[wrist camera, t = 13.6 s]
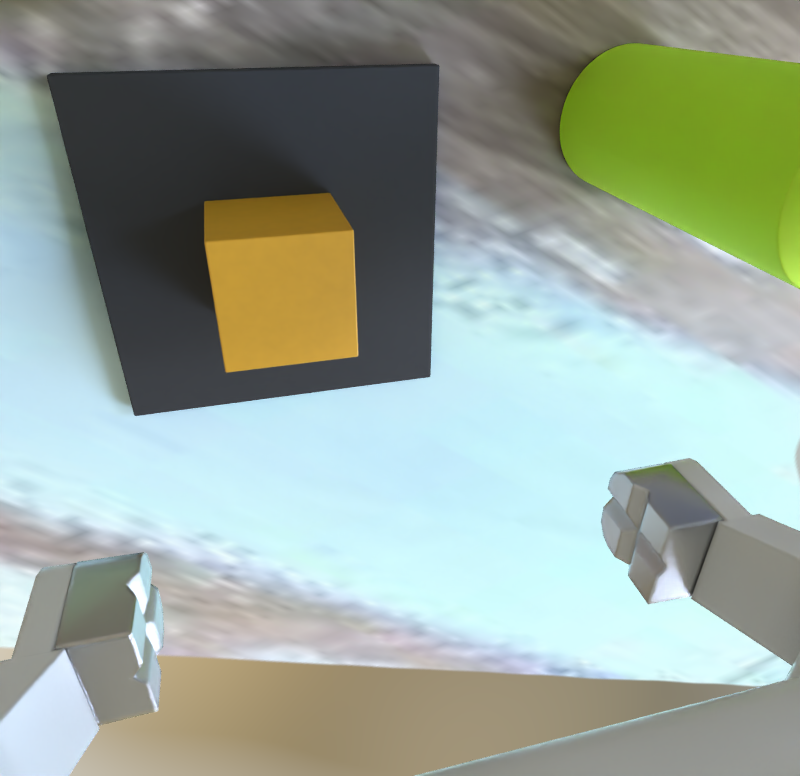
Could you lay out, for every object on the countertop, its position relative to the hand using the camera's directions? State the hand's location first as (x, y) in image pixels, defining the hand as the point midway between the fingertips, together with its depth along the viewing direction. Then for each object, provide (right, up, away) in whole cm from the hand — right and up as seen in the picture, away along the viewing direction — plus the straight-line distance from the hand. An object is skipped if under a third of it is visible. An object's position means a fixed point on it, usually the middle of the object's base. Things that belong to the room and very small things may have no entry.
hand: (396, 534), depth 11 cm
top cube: (-5, +8, +16) cm, 19 cm away
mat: (-5, +8, +16) cm, 19 cm away
